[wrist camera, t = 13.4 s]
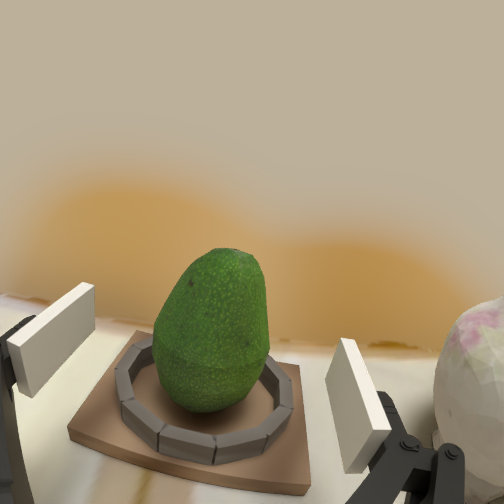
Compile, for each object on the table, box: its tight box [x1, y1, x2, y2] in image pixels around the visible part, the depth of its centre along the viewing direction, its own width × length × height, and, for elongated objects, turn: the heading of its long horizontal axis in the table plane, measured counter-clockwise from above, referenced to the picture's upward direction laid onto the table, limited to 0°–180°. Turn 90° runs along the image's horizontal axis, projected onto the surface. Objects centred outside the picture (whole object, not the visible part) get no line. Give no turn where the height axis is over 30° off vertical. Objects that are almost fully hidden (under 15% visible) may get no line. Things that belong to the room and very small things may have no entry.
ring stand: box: [67, 330, 311, 496], centre depth 23 cm, size 16×14×4 cm
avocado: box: [152, 248, 270, 413], centre depth 21 cm, size 8×8×12 cm
